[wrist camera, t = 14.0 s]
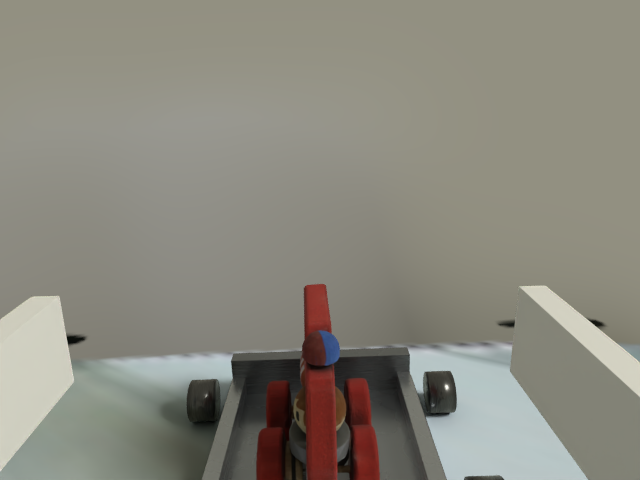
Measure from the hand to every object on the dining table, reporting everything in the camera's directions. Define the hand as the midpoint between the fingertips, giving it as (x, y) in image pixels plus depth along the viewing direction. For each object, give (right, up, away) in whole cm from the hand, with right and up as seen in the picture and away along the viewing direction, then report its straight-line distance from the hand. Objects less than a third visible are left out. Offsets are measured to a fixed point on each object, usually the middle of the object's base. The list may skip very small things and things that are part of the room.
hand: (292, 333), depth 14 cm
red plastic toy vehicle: (+1, -12, +18) cm, 21 cm away
